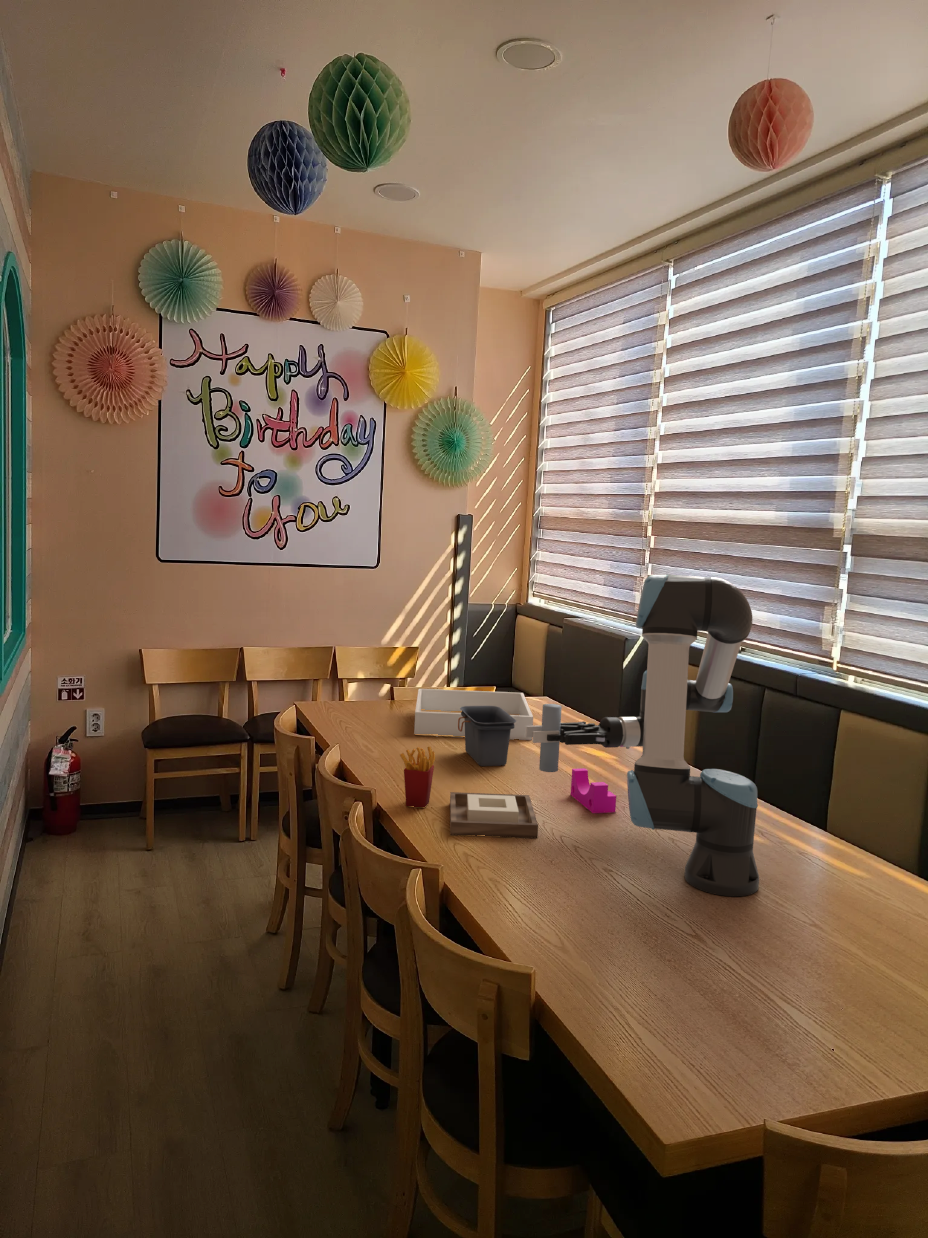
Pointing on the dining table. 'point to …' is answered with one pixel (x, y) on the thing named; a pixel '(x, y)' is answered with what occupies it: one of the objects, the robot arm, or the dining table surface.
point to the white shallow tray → (460, 698)
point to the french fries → (418, 777)
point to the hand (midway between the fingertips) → (529, 734)
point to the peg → (551, 749)
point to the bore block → (492, 808)
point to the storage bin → (487, 734)
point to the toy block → (592, 793)
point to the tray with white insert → (462, 826)
